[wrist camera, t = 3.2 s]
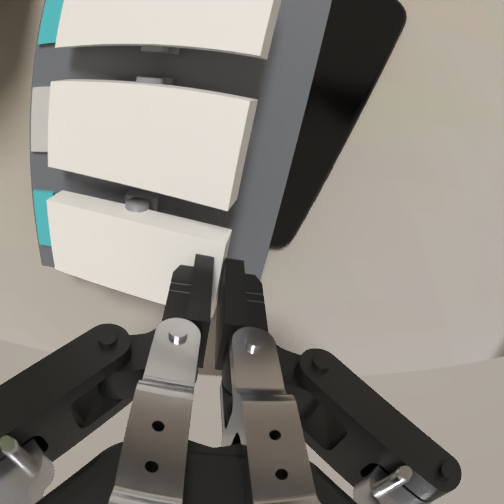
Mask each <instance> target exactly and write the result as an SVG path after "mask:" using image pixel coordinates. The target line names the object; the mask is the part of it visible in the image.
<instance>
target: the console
mask: <svg viewBox="0 0 504 504" xmlns="http://www.w3.org/2000/svg"><path fill="white" fill-rule="evenodd" d="M63 2H64V0H45V2H44V6H43V11H42V16H41V21H40V26H39V32H38V37H37V44H36V51H35V58H34V67H33V77H32V89H31V105H30V166H31V183H32V196H33V206H34V215H35V223H36V231H37V238H38V244H39V250H40V256H41V262H42V265H44V266H50V267H55V265H54V259H53V253H52V246H51V238H50V230H49V222H48V212H47V200H48V199H49V198H51V197H52V196H54V195H55V194H57V193H59V192H60V191H62V190H64V191H69V192H73V193H78V194H82V195H87V196H91V197H96V198H100V199H105V200H109V201H113V202H118V203H122V204H125V202H126V200H128V199H130V198H135V197H139V198H144V199H147V200H148V201H149V210H153V211H157V212H161V213H165V214H170V215H174V216H178V217H182V218H186V219H191V220H195V221H199V222H203V223H207V224H212V225H216V226H220V227H224V228H228V229H232V233H231V238H230V243H229V248H228V253H227V258H230V259H237V260H244V267H245V274H252V275H256V276H257V278H258V279H259V280H260V279H261V275H262V271H263V268H264V264H265V260H266V257H267V253H268V249H269V246H270V242H271V238H272V235H273V231H274V227H275V223H276V220H277V216H278V212H279V208H280V205H281V201H282V197H283V193H284V189H285V186H286V182H287V178H288V174H289V170H290V167H291V163H292V159H293V155H294V151H295V147H296V143H297V140H298V136H299V132H300V128H301V124H302V120H303V116H304V112H305V108H306V104H307V100H308V96H309V92H310V88H311V84H312V80H313V76H314V72H315V68H316V64H317V60H318V56H319V52H320V48H321V44H322V40H323V35H324V31H325V27H326V23H327V19H328V15H329V10H330V6H331V2H332V0H281V4H280V8H279V12H278V16H277V20H276V24H275V29H274V33H273V37H272V41H271V46H270V50H269V54H268V58H267V60H266V59H261V58H255V57H250V56H244V55H237V54H231V53H223V52H216V51H208V50H198V49H188V48H175V47H170V48H169V53H162V52H148V51H141V48H142V46H92V47H76V48H55V44H56V38H57V32H58V26H59V21H60V16H61V11H62V7H63ZM137 77H156V78H164V81H163V84H165V85H174V86H182V87H189V88H196V89H203V90H209V91H215V92H221V93H226V94H232V95H237V96H242V97H247V98H252V99H257V100H258V102H257V107H256V112H255V116H254V121H253V125H252V130H251V135H250V139H249V144H248V149H247V153H246V158H245V163H244V168H243V172H242V177H241V182H240V187H239V192H238V197H237V200H236V201H235V202H234V204H233V205H232V206H231V208H230V209H229V210H228V211H224V210H221V209H217V208H213V207H210V206H206V205H202V204H198V203H195V202H191V201H187V200H183V199H179V198H176V197H172V196H168V195H164V194H160V193H156V192H152V191H148V190H144V189H140V188H136V187H132V186H128V185H124V184H120V183H116V182H112V181H108V180H104V179H100V178H95V177H91V176H87V175H83V174H78V173H74V172H70V171H65V170H61V169H56V168H52V167H48V114H49V97H50V85H51V81H58V80H67V79H96V80H118V81H133V82H136V78H137Z"/></svg>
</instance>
